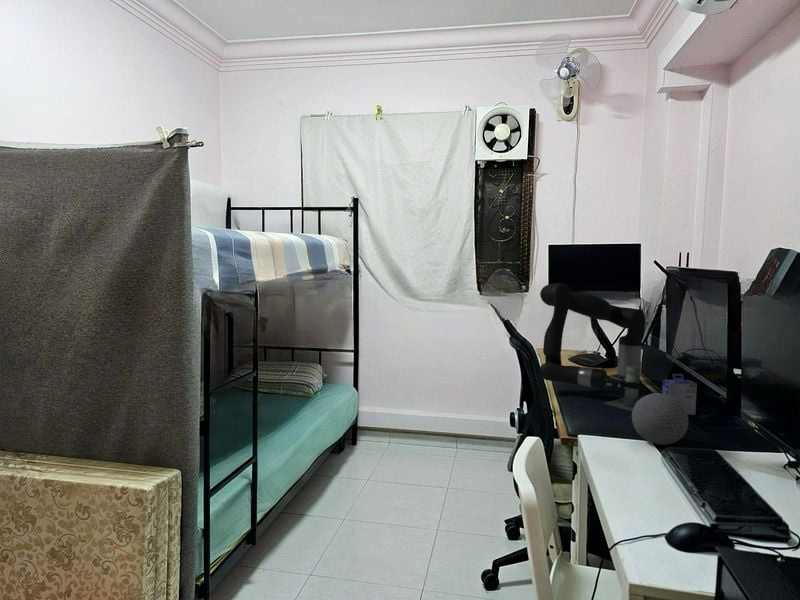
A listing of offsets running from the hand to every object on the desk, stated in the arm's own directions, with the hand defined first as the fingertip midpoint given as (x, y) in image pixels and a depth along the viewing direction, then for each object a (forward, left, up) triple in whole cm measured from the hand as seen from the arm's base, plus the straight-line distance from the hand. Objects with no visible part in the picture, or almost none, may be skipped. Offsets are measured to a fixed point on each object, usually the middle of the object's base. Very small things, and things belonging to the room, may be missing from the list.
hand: (639, 384), depth 183 cm
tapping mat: (+1, -3, -9) cm, 9 cm away
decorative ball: (+28, +22, -9) cm, 37 cm away
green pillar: (+1, -3, -8) cm, 8 cm away
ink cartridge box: (-5, +11, -9) cm, 16 cm away
